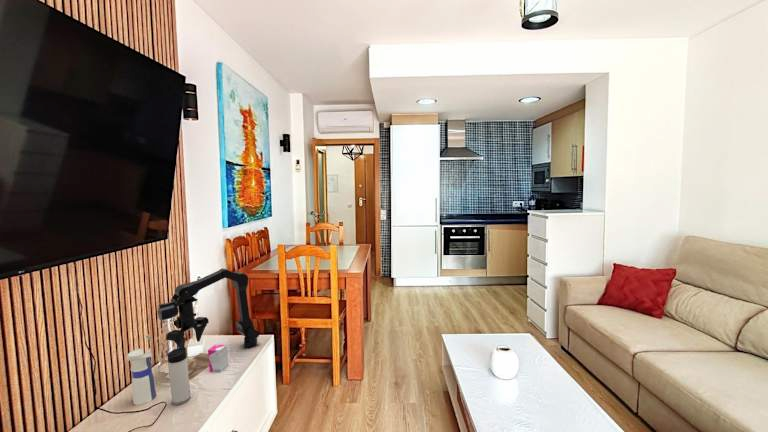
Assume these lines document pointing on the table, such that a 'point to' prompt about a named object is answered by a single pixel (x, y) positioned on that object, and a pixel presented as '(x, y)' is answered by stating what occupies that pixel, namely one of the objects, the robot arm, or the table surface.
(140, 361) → the water bottle
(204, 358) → the walnut board
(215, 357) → the supplement box
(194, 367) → the sanding block
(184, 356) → the travel mug
